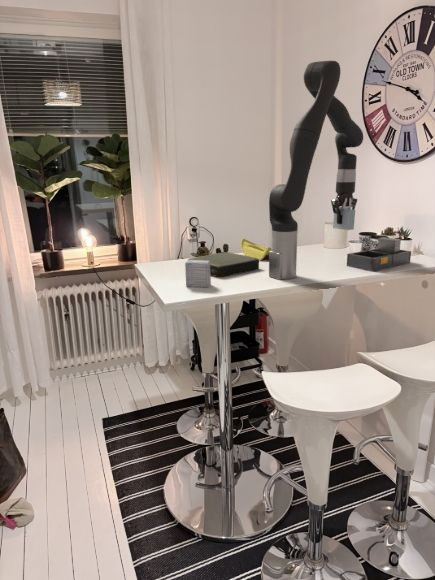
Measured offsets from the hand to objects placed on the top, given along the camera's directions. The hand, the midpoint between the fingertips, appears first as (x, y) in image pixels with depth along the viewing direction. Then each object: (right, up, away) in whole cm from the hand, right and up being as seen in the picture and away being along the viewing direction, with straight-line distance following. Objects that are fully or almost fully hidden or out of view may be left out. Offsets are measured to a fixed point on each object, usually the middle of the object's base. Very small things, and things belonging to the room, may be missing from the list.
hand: (342, 223), depth 177 cm
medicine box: (-59, -27, -29) cm, 71 cm away
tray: (+14, -17, -3) cm, 22 cm away
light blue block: (0, -2, 0) cm, 2 cm away
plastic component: (-33, -13, +19) cm, 40 cm away
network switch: (-50, -20, -5) cm, 54 cm away
